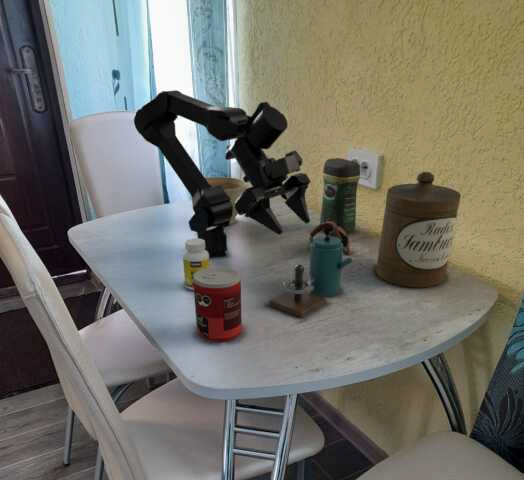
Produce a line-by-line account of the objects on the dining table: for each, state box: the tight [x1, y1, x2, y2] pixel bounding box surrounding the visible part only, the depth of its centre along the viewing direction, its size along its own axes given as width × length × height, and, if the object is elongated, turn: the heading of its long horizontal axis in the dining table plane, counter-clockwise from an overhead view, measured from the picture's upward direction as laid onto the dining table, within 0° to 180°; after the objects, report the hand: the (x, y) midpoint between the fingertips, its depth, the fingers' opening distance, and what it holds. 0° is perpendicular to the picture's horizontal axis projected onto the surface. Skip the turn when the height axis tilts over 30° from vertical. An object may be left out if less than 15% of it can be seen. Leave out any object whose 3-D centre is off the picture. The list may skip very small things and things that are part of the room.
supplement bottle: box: [182, 237, 211, 291], centre depth 105 cm, size 5×5×10 cm
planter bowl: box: [189, 176, 248, 225], centre depth 143 cm, size 16×16×11 cm
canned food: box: [193, 266, 243, 343], centre depth 87 cm, size 8×8×11 cm
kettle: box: [282, 235, 354, 298], centre depth 99 cm, size 9×15×12 cm, turn 139°
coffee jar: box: [319, 157, 361, 235], centre depth 134 cm, size 10×8×19 cm
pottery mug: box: [308, 221, 351, 255], centre depth 124 cm, size 12×10×8 cm
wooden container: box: [375, 171, 462, 288], centre depth 107 cm, size 15×15×22 cm
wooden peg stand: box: [268, 264, 327, 319], centre depth 97 cm, size 8×8×8 cm
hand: (295, 227), depth 104 cm, fingers open, 9 cm apart
